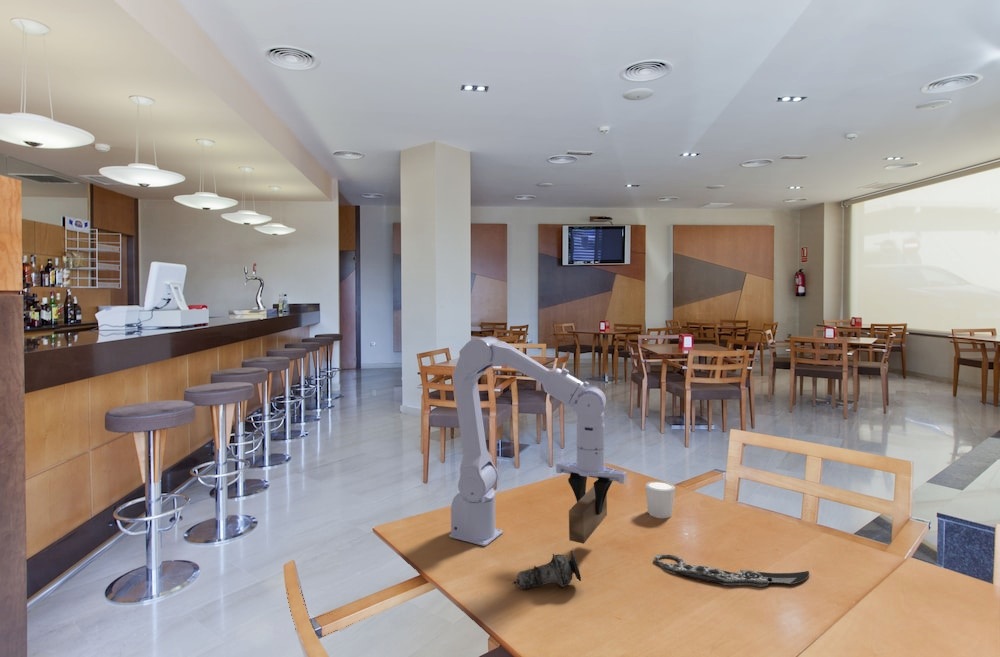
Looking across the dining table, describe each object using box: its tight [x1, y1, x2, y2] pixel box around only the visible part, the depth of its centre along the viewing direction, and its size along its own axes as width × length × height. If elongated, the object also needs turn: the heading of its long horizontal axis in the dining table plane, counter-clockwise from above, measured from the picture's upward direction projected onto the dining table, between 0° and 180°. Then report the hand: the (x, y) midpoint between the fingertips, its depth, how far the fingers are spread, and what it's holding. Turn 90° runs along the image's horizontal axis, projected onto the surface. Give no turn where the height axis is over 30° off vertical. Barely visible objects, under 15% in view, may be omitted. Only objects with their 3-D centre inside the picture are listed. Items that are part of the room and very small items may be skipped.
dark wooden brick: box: [568, 485, 608, 544], centre depth 109 cm, size 3×14×6 cm, turn 150°
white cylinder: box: [645, 480, 676, 519], centre depth 130 cm, size 7×7×7 cm
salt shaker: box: [512, 550, 582, 590], centre depth 97 cm, size 6×6×12 cm
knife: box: [653, 553, 810, 588], centre depth 101 cm, size 28×2×10 cm
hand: (590, 511), depth 110 cm, fingers closed on dark wooden brick, 3 cm apart
